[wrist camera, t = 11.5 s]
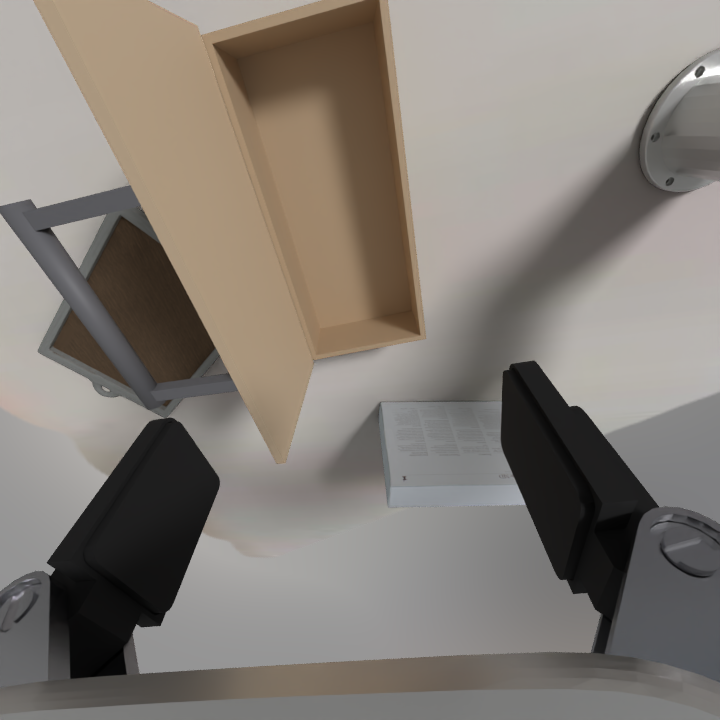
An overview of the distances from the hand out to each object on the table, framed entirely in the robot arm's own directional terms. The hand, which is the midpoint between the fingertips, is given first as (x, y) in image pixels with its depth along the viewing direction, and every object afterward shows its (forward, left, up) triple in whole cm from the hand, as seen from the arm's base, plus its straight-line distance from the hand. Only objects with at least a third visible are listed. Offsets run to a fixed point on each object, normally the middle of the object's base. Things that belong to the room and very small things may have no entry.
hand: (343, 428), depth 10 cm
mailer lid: (+8, 0, -20) cm, 22 cm away
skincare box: (-8, +35, -36) cm, 51 cm away
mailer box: (+1, 0, -35) cm, 35 cm away
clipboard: (+31, +10, -36) cm, 49 cm away
